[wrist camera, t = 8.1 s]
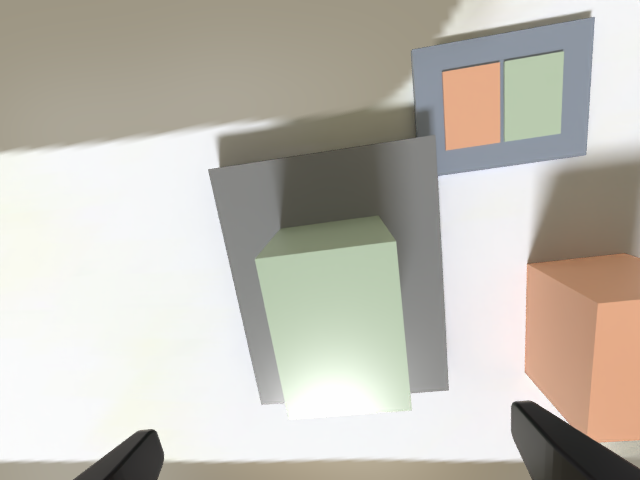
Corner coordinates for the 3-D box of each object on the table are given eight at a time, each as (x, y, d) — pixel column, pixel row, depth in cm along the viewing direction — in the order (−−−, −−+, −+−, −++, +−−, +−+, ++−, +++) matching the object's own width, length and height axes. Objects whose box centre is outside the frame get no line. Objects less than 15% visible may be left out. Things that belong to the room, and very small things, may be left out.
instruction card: (581, 155, 16) (587, 154, 15) (419, 177, 16) (421, 178, 16) (589, 19, 14) (596, 15, 14) (410, 51, 15) (412, 48, 15)
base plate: (440, 372, 19) (448, 390, 18) (267, 387, 20) (261, 404, 19) (426, 136, 16) (435, 134, 14) (219, 168, 17) (208, 169, 15)
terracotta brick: (611, 363, 19) (707, 436, 14) (523, 370, 19) (586, 443, 14) (622, 252, 17) (736, 290, 12) (525, 262, 17) (597, 303, 13)
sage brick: (391, 339, 17) (411, 410, 12) (302, 348, 18) (288, 419, 13) (378, 215, 15) (396, 241, 11) (280, 228, 16) (254, 259, 11)
